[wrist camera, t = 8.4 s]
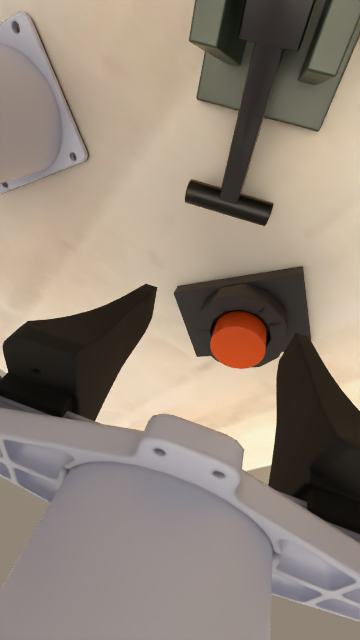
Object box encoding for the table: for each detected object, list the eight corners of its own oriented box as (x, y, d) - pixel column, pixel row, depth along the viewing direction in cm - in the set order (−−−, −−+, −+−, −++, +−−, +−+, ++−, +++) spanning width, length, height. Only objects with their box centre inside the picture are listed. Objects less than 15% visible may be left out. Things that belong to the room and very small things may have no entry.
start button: (221, 352, 25) (217, 369, 24) (209, 313, 23) (203, 329, 22) (270, 349, 24) (269, 367, 22) (262, 307, 22) (260, 324, 20)
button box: (199, 348, 29) (192, 370, 27) (177, 286, 26) (166, 305, 23) (311, 341, 25) (313, 365, 23) (302, 266, 22) (305, 286, 19)
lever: (269, 210, 19) (261, 237, 17) (193, 188, 19) (181, 212, 18) (394, -86, 9) (396, -69, 8) (233, -116, 9) (213, -105, 8)
